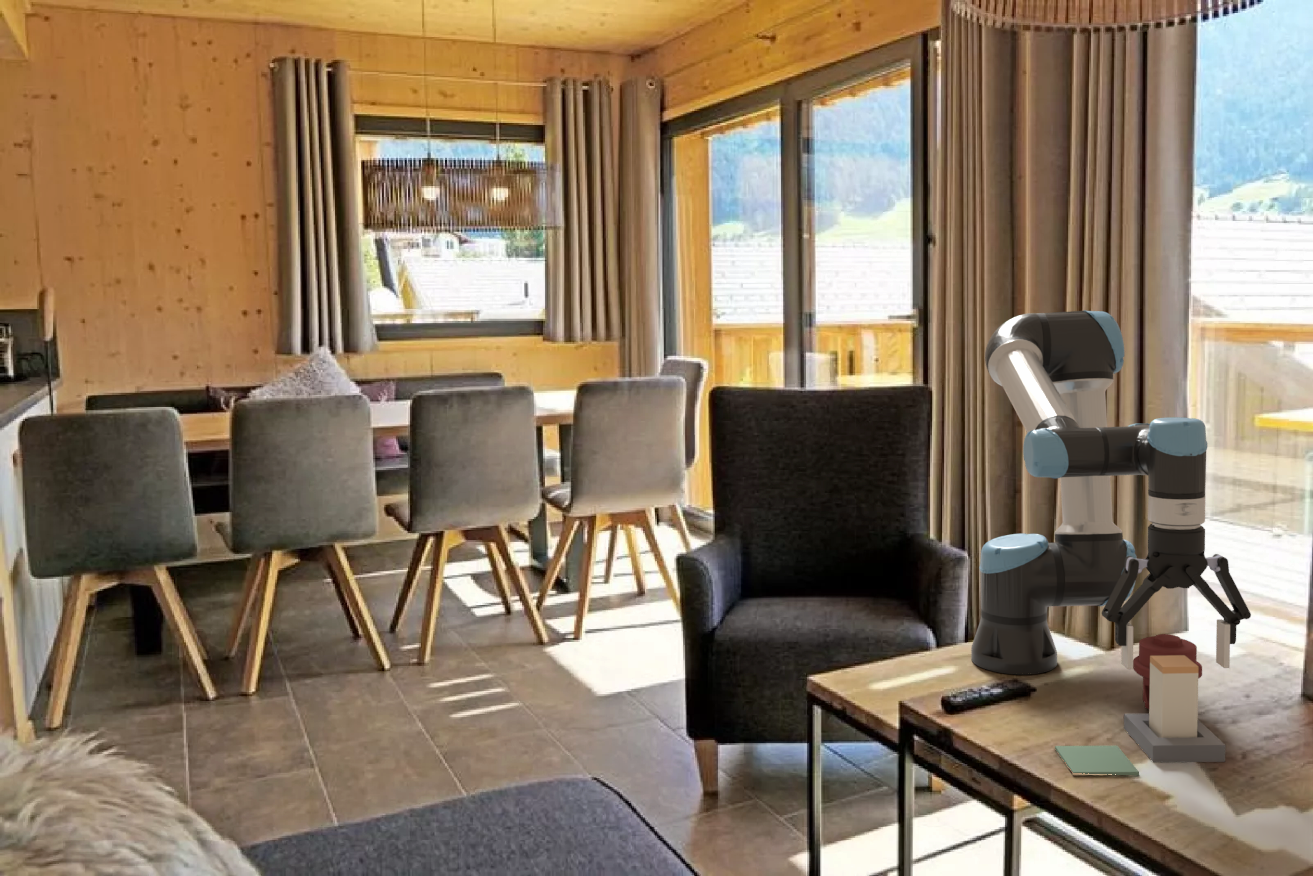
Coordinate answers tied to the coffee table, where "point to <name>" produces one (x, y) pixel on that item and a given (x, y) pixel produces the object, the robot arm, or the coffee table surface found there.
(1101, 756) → the mat
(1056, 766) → the coffee table surface
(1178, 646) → the mechanical component
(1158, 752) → the grey square frame
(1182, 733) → the plug
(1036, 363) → the robot arm
